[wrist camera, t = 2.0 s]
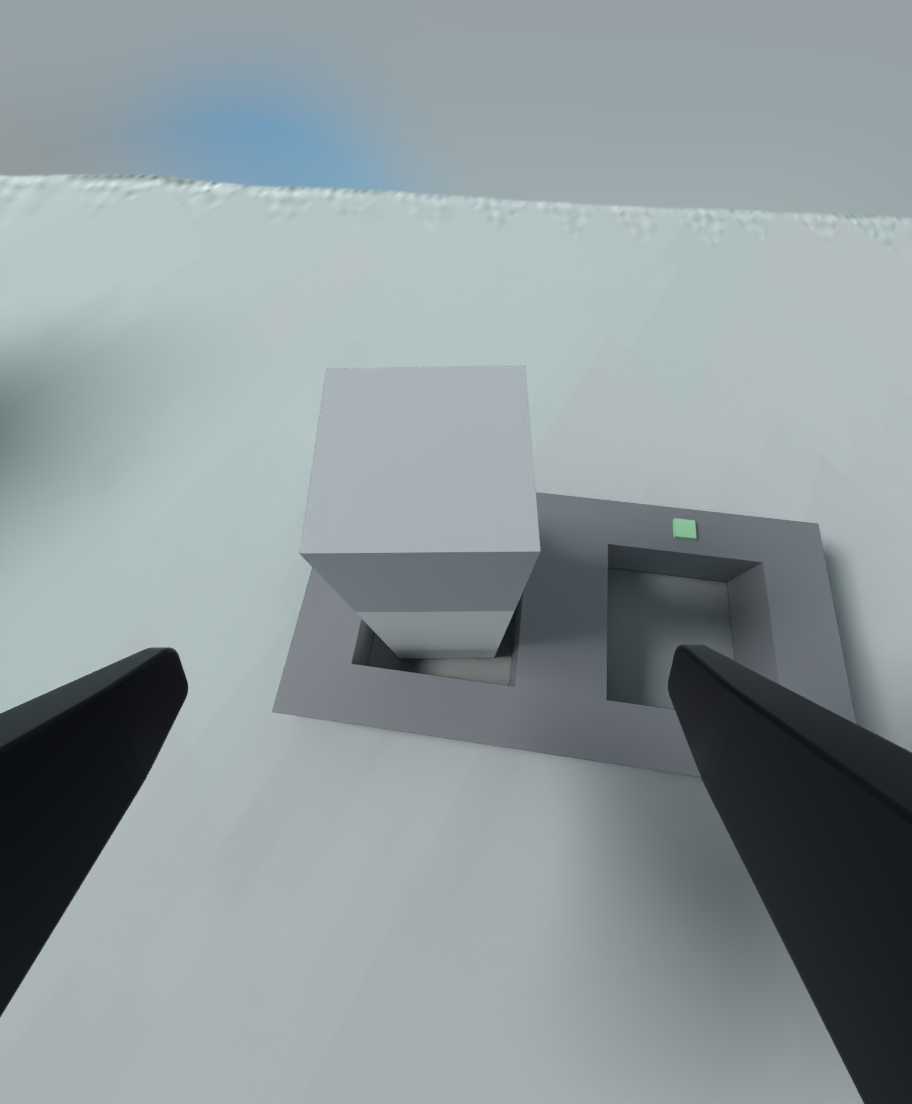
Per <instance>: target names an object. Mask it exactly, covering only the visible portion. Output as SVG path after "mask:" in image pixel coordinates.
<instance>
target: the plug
mask: <svg viewBox="0 0 912 1104" xmlns="http://www.w3.org/2000/svg"><path fill="white" fill-rule="evenodd" d="M300 554H301V556H302V557H303V558H304V559H305V560H306V561H307V562H308V563H309V564H310V565H311V566H312V567H313V568H314V569H315V570H316V571H317V572H318V573H319V574H320V575H321V576H322V578H323V579H324V580H325V581H326V582H327V583H328V584H329V585H330V586H331V587H332V588H333V589H334V590H335V591H336V592H337V593H338V594H339V595H340V596H341V597H342V598H343V600H344V601H345V602H346V603H347V604H348V605H349V606H350V607H351V608H352V609H353V610H354V611H355V612H356V613H357V614H358V615H359V616H360V617H361V618H362V619H363V620H364V622H365V623H366V624H367V625H368V626H369V627H370V628H371V629H372V630H373V631H374V632H375V633H376V634H377V635H378V636H379V637H380V638H381V639H382V640H383V641H384V642H385V644H386V645H387V646H388V647H389V648H390V649H391V650H392V651H393V652H394V653H395V654H396V655H397V656H398V657H399V658H494V657H495V654H496V652H497V650H498V648H499V645H500V643H501V641H502V638H503V636H504V634H505V632H506V629H507V627H508V625H509V622H510V620H511V618H512V616H513V613H514V611H515V609H516V606H517V604H518V602H519V600H520V597H521V595H522V593H523V590H524V588H525V586H526V583H527V581H528V579H529V577H530V574H531V572H532V570H533V567H534V565H535V563H536V561H537V558H538V556H539V554H540V539H539V527H538V514H537V502H536V490H535V477H534V465H533V452H532V440H531V428H530V415H529V403H528V390H527V378H526V366H462V367H396V368H330V369H326V372H325V379H324V386H323V393H322V400H321V407H320V414H319V421H318V428H317V435H316V442H315V449H314V456H313V463H312V470H311V477H310V484H309V491H308V498H307V505H306V512H305V519H304V526H303V533H302V540H301V547H300Z"/></svg>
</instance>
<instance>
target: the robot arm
mask: <svg viewBox="0 0 912 1104" xmlns="http://www.w3.org/2000/svg"><path fill="white" fill-rule="evenodd" d="M668 691H669V695H670V698H671V701H672V704H673V706H674V709H675V711H676V714H677V717H678V719H679V722H680V725H681V727H682V730H683V733H684V735H685V738H686V740H687V743H688V746H689V748H690V751H691V754H692V756H693V759H694V761H695V764H696V766H697V769H698V771H699V774H700V776H701V778H702V781H703V783H704V785H705V787H706V789H707V791H708V793H709V795H710V797H711V799H712V801H713V803H714V805H715V807H716V809H717V811H718V813H719V815H720V817H721V819H722V821H723V823H724V825H725V827H726V829H727V831H728V833H729V835H730V837H731V839H732V841H733V843H734V845H735V847H736V849H737V851H738V853H739V855H740V857H741V859H742V861H743V863H744V865H745V867H746V869H747V871H748V873H749V875H750V877H751V879H752V881H753V883H754V885H755V887H756V889H757V891H758V893H759V895H760V897H761V899H762V901H763V903H764V905H765V907H766V909H767V911H768V913H769V915H770V917H771V919H772V921H773V923H774V925H775V927H776V929H777V931H778V933H779V935H780V937H781V939H782V941H783V943H784V945H785V947H786V949H787V951H788V953H789V955H790V957H791V959H792V961H793V963H794V965H795V967H796V969H797V971H798V973H799V975H800V977H801V979H802V981H803V983H804V985H805V987H806V989H807V991H808V993H809V995H810V997H811V999H812V1001H813V1003H814V1005H815V1007H816V1009H817V1011H818V1013H819V1015H820V1017H821V1019H822V1021H823V1023H824V1025H825V1027H826V1029H827V1031H828V1033H829V1035H830V1036H831V1038H832V1040H833V1042H834V1044H835V1046H836V1048H837V1050H838V1052H839V1054H840V1056H841V1058H842V1060H843V1062H844V1064H845V1066H846V1068H847V1070H848V1072H849V1074H850V1076H851V1078H852V1080H853V1082H854V1084H855V1086H856V1088H857V1090H858V1092H859V1094H860V1096H861V1098H862V1100H863V1102H864V1104H912V753H911V752H909V751H908V750H906V749H904V748H902V747H900V746H898V745H896V744H894V743H892V742H890V741H888V740H886V739H884V738H882V737H880V736H879V735H877V734H875V733H873V732H871V731H869V730H867V729H865V728H863V727H861V726H859V725H857V724H855V723H853V722H851V721H849V720H848V719H846V718H844V717H842V716H840V715H838V714H836V713H834V712H832V711H830V710H828V709H826V708H824V707H822V706H820V705H819V704H817V703H815V702H813V701H811V700H809V699H807V698H805V697H803V696H801V695H799V694H797V693H795V692H793V691H791V690H789V689H788V688H786V687H784V686H782V685H780V684H778V683H776V682H774V681H772V680H770V679H768V678H766V677H764V676H762V675H760V674H759V673H757V672H755V671H753V670H751V669H749V668H747V667H745V666H743V665H741V664H739V663H737V662H735V661H733V660H731V659H730V658H728V657H726V656H724V655H722V654H720V653H718V652H716V651H714V650H712V649H710V648H708V647H706V646H704V645H680V646H679V647H677V649H676V651H675V654H674V658H673V662H672V667H671V671H670V676H669V680H668ZM187 693H188V683H187V679H186V676H185V673H184V670H183V667H182V664H181V661H180V658H179V655H178V653H177V652H176V650H174V649H173V648H147V649H145V650H142V651H140V652H138V653H136V654H133V655H131V656H129V657H127V658H124V659H122V660H120V661H118V662H115V663H113V664H111V665H109V666H106V667H104V668H102V669H100V670H97V671H95V672H93V673H91V674H88V675H86V676H84V677H82V678H79V679H77V680H75V681H73V682H70V683H68V684H66V685H64V686H61V687H59V688H57V689H55V690H52V691H50V692H48V693H46V694H43V695H41V696H39V697H37V698H34V699H32V700H30V701H28V702H25V703H23V704H21V705H19V706H17V707H14V708H12V709H10V710H8V711H5V712H3V713H1V714H0V1017H1V1015H2V1014H3V1012H4V1010H5V1009H6V1007H7V1006H8V1004H9V1002H10V1001H11V999H12V997H13V996H14V994H15V992H16V991H17V989H18V988H19V986H20V984H21V983H22V981H23V979H24V978H25V976H26V974H27V973H28V971H29V970H30V968H31V966H32V965H33V963H34V961H35V960H36V958H37V956H38V955H39V953H40V952H41V950H42V948H43V947H44V945H45V943H46V942H47V940H48V938H49V937H50V935H51V934H52V932H53V930H54V929H55V927H56V925H57V924H58V922H59V920H60V919H61V917H62V916H63V914H64V912H65V911H66V909H67V907H68V906H69V904H70V902H71V901H72V899H73V898H74V896H75V894H76V893H77V891H78V889H79V888H80V886H81V884H82V883H83V881H84V880H85V878H86V876H87V875H88V873H89V871H90V870H91V868H92V866H93V865H94V863H95V862H96V860H97V858H98V857H99V855H100V853H101V852H102V850H103V848H104V847H105V845H106V844H107V842H108V840H109V839H110V837H111V835H112V834H113V832H114V830H115V829H116V827H117V826H118V824H119V822H120V821H121V819H122V817H123V816H124V814H125V812H126V811H127V809H128V808H129V806H130V804H131V803H132V801H133V799H134V798H135V796H136V794H137V793H138V791H139V789H140V788H141V786H142V784H143V782H144V781H145V779H146V777H147V775H148V773H149V771H150V770H151V768H152V766H153V764H154V762H155V760H156V758H157V756H158V754H159V752H160V750H161V748H162V746H163V744H164V742H165V740H166V737H167V735H168V733H169V731H170V729H171V727H172V725H173V723H174V721H175V719H176V717H177V715H178V713H179V711H180V709H181V707H182V705H183V703H184V701H185V699H186V696H187Z"/></svg>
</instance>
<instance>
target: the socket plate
mask: <svg viewBox="0 0 912 1104" xmlns="http://www.w3.org/2000/svg"><path fill="white" fill-rule="evenodd" d="M536 502H537V514H538V527H539V539H540V554H539V556H538V558H537V561H536V563H535V565H534V567H533V570H532V572H531V574H530V577H529V579H528V581H527V583H526V586H525V588H524V590H523V593H522V595H521V597H520V600H519V602H518V604H517V606H516V616H515V628H514V639H513V650H512V661H511V672H510V684H509V686H504V685H497V684H490V683H483V682H476V681H469V680H462V679H455V678H448V677H441V676H434V675H426V674H419V673H412V672H405V671H398V670H391V669H384V668H377V667H370V666H367V663H368V658H369V654H370V649H371V644H372V639H373V635H374V631H373V630H372V629H371V628H370V627H369V626H368V625H367V624H366V623H365V622H364V620H363V619H362V618H361V617H360V616H359V615H358V614H357V613H356V612H355V611H354V610H353V609H352V608H351V607H350V606H349V605H348V604H347V603H346V602H345V601H344V600H343V598H342V597H341V596H340V595H339V594H338V593H337V592H336V591H335V590H334V589H333V588H332V587H331V586H330V585H329V584H328V583H327V582H326V581H325V580H324V579H323V578H322V576H321V575H320V574H319V573H318V572H317V571H316V570H315V569H314V568H313V567H312V570H311V574H310V577H309V581H308V584H307V588H306V592H305V595H304V599H303V602H302V606H301V610H300V613H299V617H298V620H297V624H296V628H295V631H294V635H293V638H292V642H291V645H290V649H289V653H288V656H287V660H286V663H285V667H284V671H283V674H282V678H281V681H280V685H279V689H278V692H277V696H276V699H275V703H274V707H273V710H272V712H275V713H282V714H288V715H295V716H301V717H308V718H315V719H321V720H328V721H334V722H341V723H348V724H354V725H361V726H367V727H374V728H381V729H387V730H394V731H400V732H407V733H414V734H420V735H427V736H433V737H440V738H446V739H453V740H460V741H466V742H473V743H479V744H486V745H493V746H499V747H506V748H512V749H519V750H526V751H532V752H539V753H545V754H552V755H559V756H565V757H572V758H578V759H585V760H592V761H598V762H605V763H611V764H618V765H625V766H631V767H638V768H644V769H651V770H658V771H664V772H671V773H677V774H684V775H691V776H697V777H701V776H700V774H699V771H698V769H697V766H696V764H695V761H694V759H693V756H692V754H691V751H690V748H689V746H688V743H687V740H686V738H685V735H684V733H683V730H682V727H681V725H680V722H679V719H678V717H677V714H676V711H675V710H673V709H666V708H659V707H652V706H645V705H638V704H631V703H624V702H617V701H610V700H607V598H608V568H616V569H625V570H633V571H641V572H649V573H658V574H666V575H674V576H682V577H690V578H699V579H707V580H715V581H723V582H727V586H728V596H729V606H730V617H731V627H732V637H733V647H734V657H735V662H737V663H739V664H741V665H743V666H745V667H747V668H749V669H751V670H753V671H755V672H757V673H759V674H760V675H762V676H764V677H766V678H768V679H770V680H772V681H774V682H776V683H778V684H780V685H782V686H784V687H786V688H788V689H789V690H791V691H793V692H795V693H797V694H799V695H801V696H803V697H805V698H807V699H809V700H811V701H813V702H815V703H817V704H819V705H820V706H822V707H824V708H826V709H828V710H830V711H832V712H834V713H836V714H838V715H840V716H842V717H844V718H846V719H848V720H849V721H851V722H853V723H855V724H856V719H855V714H854V709H853V703H852V698H851V693H850V688H849V682H848V677H847V672H846V667H845V661H844V656H843V651H842V646H841V640H840V635H839V630H838V625H837V619H836V614H835V609H834V604H833V598H832V593H831V588H830V583H829V577H828V572H827V567H826V562H825V556H824V551H823V546H822V541H821V535H820V530H819V525H818V524H816V523H807V522H798V521H789V520H780V519H771V518H762V517H753V516H744V515H735V514H726V513H717V512H708V511H699V510H690V509H681V508H672V507H663V506H654V505H645V504H636V503H627V502H618V501H609V500H600V499H591V498H582V497H573V496H564V495H555V494H546V493H537V492H536Z"/></svg>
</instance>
